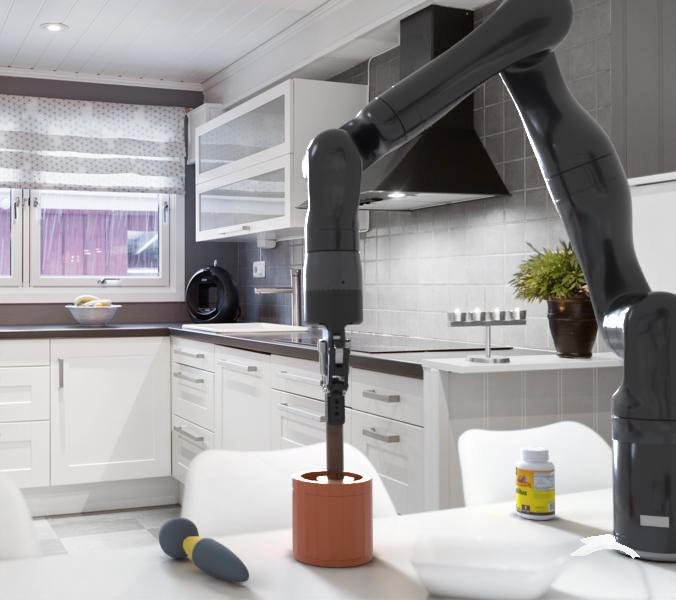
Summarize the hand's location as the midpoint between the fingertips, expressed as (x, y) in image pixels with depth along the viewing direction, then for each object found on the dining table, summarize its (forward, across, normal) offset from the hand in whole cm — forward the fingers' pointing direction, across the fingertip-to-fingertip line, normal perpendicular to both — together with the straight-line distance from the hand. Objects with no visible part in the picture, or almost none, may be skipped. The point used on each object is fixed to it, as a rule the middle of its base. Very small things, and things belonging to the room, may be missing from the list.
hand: (334, 422), depth 106 cm
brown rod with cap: (+11, 0, 0) cm, 11 cm away
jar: (+17, -1, +1) cm, 17 cm away
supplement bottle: (+17, +21, -32) cm, 42 cm away
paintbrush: (+17, -6, +17) cm, 24 cm away
